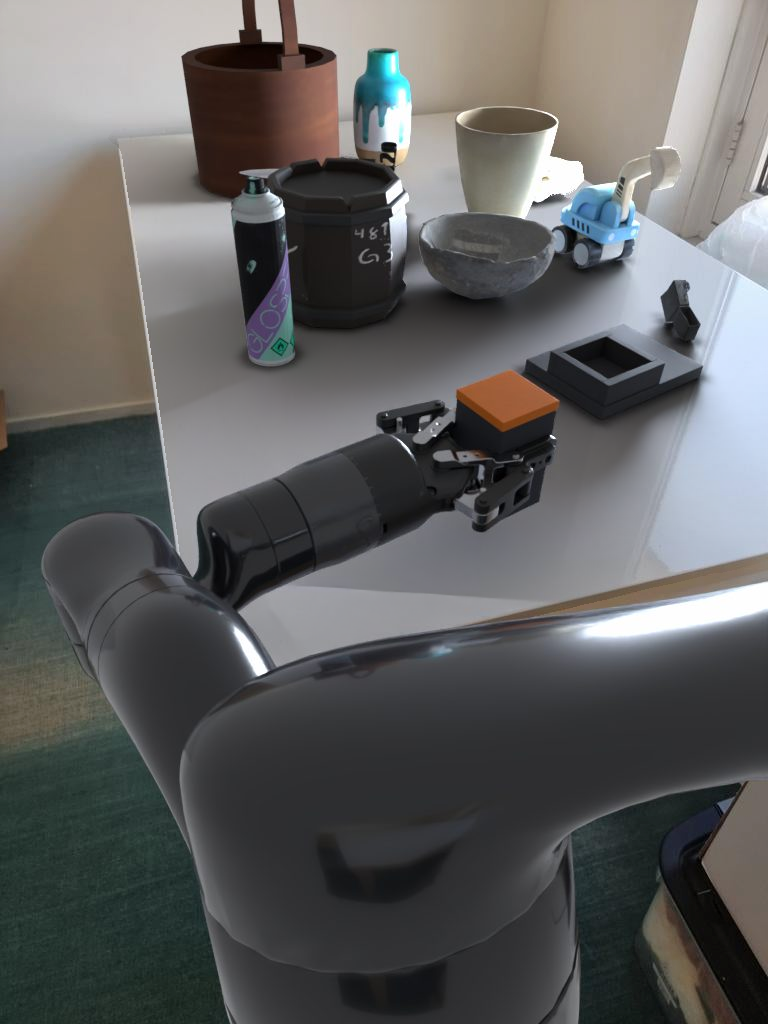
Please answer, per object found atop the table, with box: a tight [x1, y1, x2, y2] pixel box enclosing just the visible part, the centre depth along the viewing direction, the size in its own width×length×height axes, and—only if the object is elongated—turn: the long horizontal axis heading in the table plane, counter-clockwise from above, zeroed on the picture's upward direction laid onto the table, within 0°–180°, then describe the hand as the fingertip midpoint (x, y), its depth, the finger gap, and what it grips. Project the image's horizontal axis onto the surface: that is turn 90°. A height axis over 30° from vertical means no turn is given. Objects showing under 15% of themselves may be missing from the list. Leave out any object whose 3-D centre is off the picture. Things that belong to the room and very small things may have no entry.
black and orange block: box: [453, 369, 560, 521], centre depth 59 cm, size 6×6×10 cm
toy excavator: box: [551, 145, 682, 269], centre depth 102 cm, size 9×17×17 cm, turn 28°
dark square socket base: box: [524, 323, 704, 421], centre depth 84 cm, size 12×16×4 cm
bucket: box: [181, 0, 341, 199], centre depth 124 cm, size 26×26×35 cm
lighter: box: [659, 279, 702, 342], centre depth 92 cm, size 8×2×5 cm
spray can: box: [230, 176, 296, 367], centre depth 81 cm, size 6×6×20 cm
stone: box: [532, 155, 585, 203], centre depth 132 cm, size 21×12×5 cm, turn 5°
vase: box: [352, 47, 412, 168], centre depth 134 cm, size 11×11×19 cm
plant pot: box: [454, 106, 559, 219], centre depth 113 cm, size 15×15×16 cm
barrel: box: [266, 157, 410, 329], centre depth 93 cm, size 18×18×16 cm
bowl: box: [418, 211, 556, 300], centre depth 99 cm, size 18×18×8 cm
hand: (526, 428), depth 59 cm, fingers closed on black and orange block, 5 cm apart
